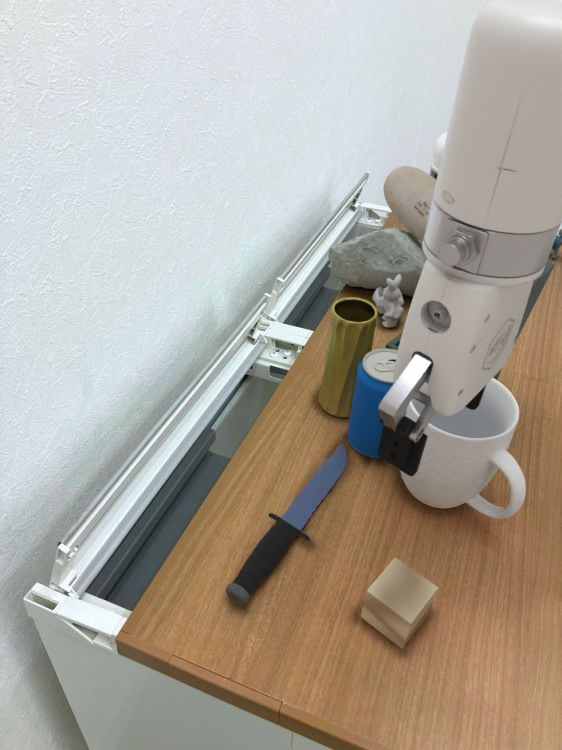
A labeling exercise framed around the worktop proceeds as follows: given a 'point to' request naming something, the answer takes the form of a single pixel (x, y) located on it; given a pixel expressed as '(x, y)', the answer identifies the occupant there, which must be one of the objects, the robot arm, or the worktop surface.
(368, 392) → the beverage can
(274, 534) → the knife
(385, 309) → the figurine
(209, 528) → the worktop surface
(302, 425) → the worktop surface
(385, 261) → the rock
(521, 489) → the mug
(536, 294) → the lid
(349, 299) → the vase
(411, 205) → the stone
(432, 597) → the block
